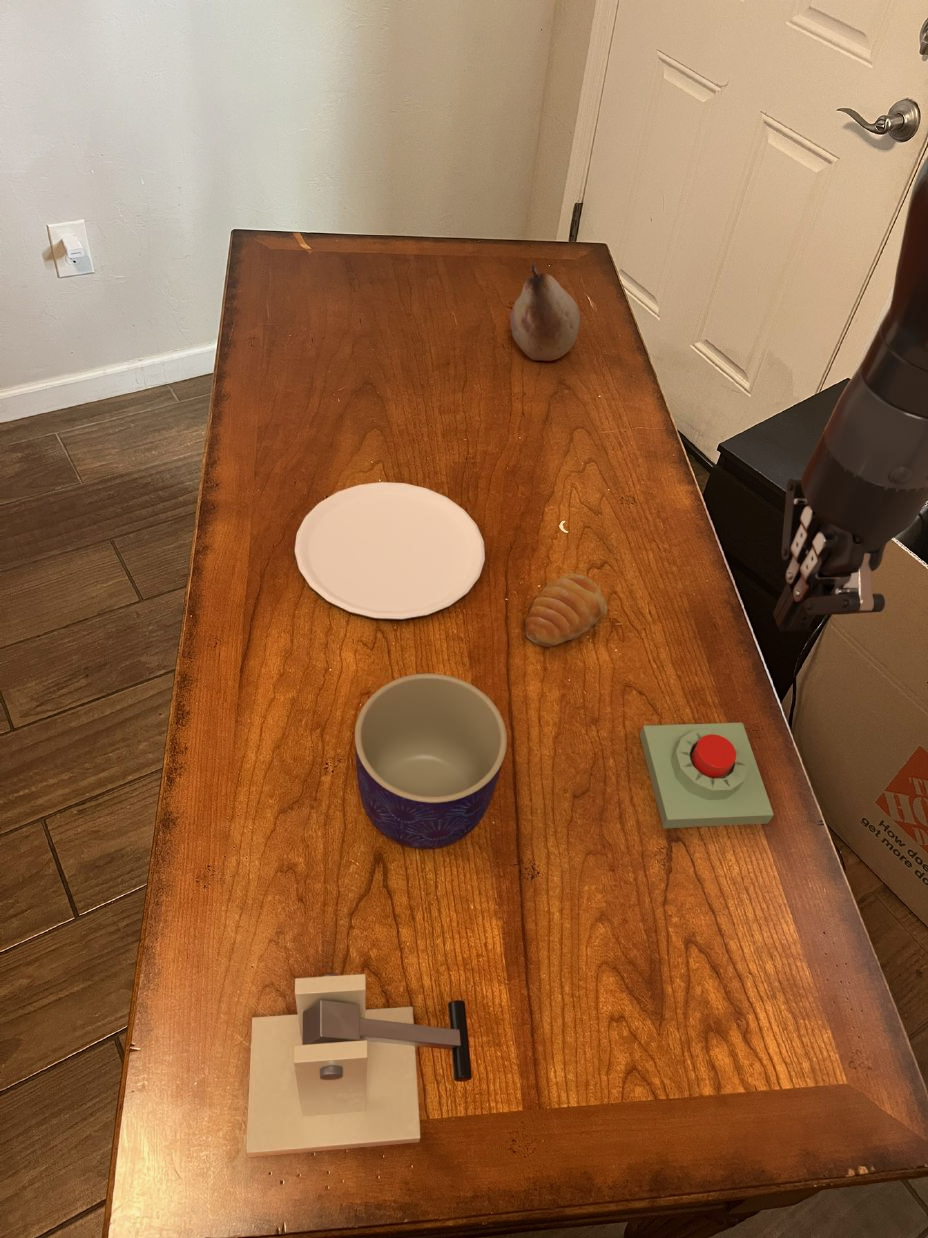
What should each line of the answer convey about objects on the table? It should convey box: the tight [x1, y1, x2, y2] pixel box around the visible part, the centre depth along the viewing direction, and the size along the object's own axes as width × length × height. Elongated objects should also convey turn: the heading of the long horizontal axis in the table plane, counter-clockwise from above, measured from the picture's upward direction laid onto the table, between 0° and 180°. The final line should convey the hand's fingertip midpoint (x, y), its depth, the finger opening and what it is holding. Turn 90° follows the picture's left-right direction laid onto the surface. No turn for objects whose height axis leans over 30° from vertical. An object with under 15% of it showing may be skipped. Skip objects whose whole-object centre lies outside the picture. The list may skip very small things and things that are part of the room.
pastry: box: [525, 572, 608, 648], centre depth 98 cm, size 9×7×4 cm
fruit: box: [510, 265, 581, 362], centre depth 127 cm, size 10×9×12 cm
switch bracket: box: [245, 973, 421, 1158], centre depth 63 cm, size 12×9×15 cm
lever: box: [302, 999, 473, 1083], centre depth 61 cm, size 12×5×2 cm
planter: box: [354, 673, 508, 850], centre depth 80 cm, size 12×12×11 cm
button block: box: [639, 722, 775, 829], centre depth 87 cm, size 10×10×4 cm
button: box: [692, 734, 736, 778], centre depth 86 cm, size 4×4×2 cm
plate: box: [294, 481, 486, 621], centre depth 103 cm, size 21×21×1 cm
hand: (787, 622), depth 71 cm, fingers closed
